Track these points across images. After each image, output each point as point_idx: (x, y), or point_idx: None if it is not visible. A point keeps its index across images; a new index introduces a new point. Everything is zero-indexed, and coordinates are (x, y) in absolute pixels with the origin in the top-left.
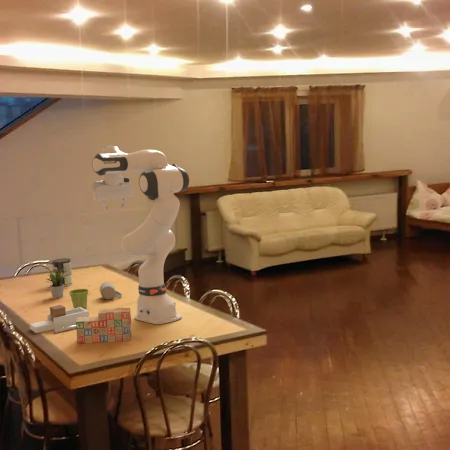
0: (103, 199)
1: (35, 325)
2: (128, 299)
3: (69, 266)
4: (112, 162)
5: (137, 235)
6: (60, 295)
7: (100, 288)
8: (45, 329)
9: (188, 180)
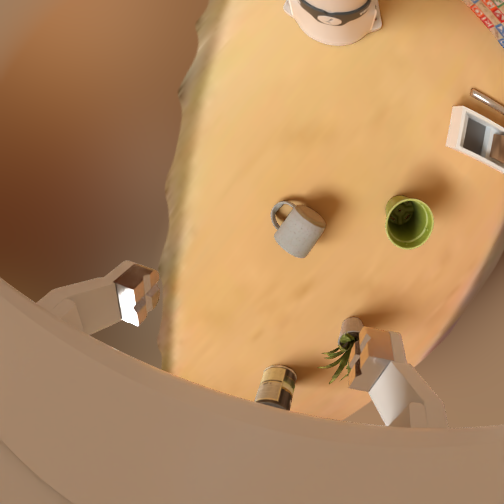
0: (459, 437)
1: None
2: (281, 170)
3: (265, 392)
4: None
5: None
6: (354, 319)
7: (311, 248)
8: None
9: None
